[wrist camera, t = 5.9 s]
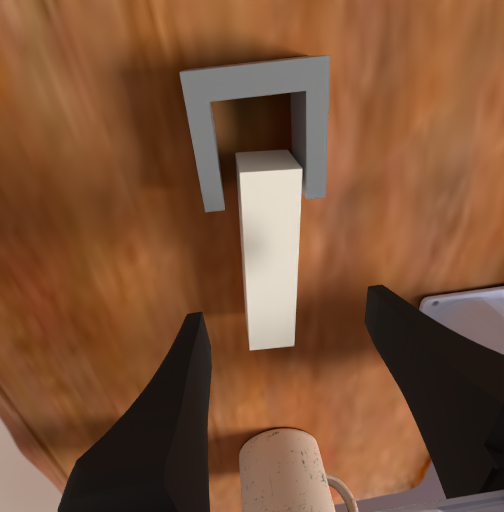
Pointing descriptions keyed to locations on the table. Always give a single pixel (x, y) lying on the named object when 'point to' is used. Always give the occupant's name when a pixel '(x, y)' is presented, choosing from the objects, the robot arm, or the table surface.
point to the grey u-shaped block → (251, 85)
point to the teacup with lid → (287, 475)
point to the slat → (269, 244)
